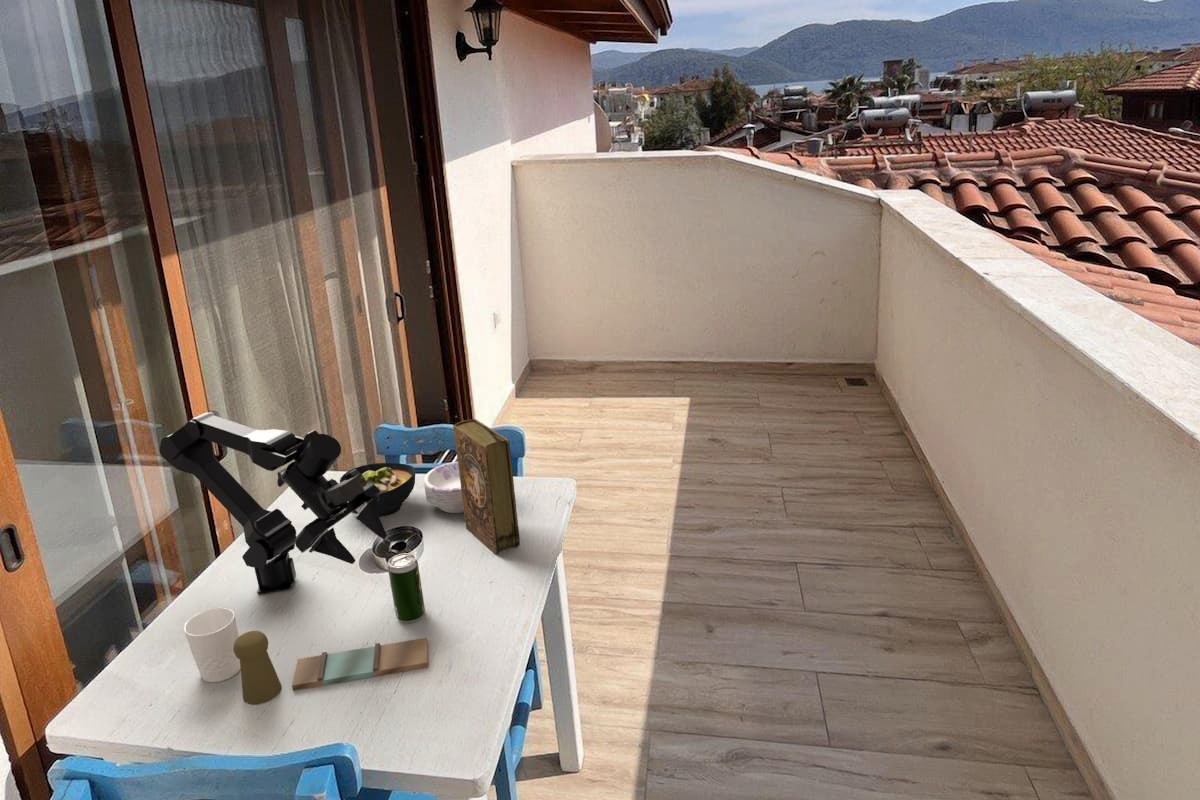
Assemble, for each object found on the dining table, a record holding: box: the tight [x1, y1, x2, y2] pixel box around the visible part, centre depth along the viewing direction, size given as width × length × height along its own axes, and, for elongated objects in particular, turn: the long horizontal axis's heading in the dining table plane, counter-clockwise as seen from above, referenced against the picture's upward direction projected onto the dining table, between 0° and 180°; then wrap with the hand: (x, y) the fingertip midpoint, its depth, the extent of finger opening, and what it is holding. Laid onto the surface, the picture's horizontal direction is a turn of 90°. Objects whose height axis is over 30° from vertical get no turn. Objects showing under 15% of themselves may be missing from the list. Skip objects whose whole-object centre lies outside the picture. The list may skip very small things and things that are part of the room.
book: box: [452, 418, 521, 555], centre depth 175 cm, size 16×6×25 cm, turn 34°
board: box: [291, 637, 429, 691], centre depth 140 cm, size 22×7×2 cm, turn 101°
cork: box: [233, 630, 283, 706], centre depth 133 cm, size 6×6×11 cm
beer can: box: [387, 552, 426, 624], centre depth 151 cm, size 5×5×12 cm
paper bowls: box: [423, 461, 464, 514], centre depth 193 cm, size 15×15×8 cm
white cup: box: [183, 607, 241, 683], centre depth 140 cm, size 8×8×10 cm
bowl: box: [339, 462, 416, 518], centre depth 193 cm, size 17×17×10 cm
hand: (370, 549), depth 151 cm, fingers open, 9 cm apart
